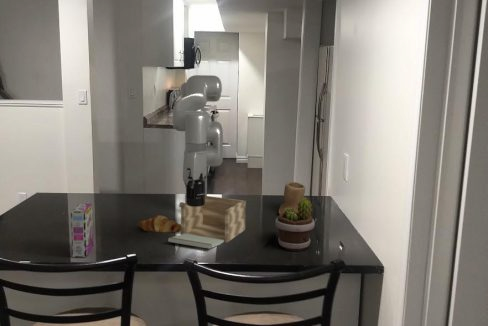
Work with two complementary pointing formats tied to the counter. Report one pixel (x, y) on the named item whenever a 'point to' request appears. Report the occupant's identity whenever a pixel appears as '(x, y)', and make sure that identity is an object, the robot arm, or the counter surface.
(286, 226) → the flowerpot
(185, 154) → the robot arm
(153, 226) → the croissant
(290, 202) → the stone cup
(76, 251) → the candy bar box
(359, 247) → the counter surface
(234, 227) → the crate
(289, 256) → the counter surface
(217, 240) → the panel
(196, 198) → the supplement bottle
